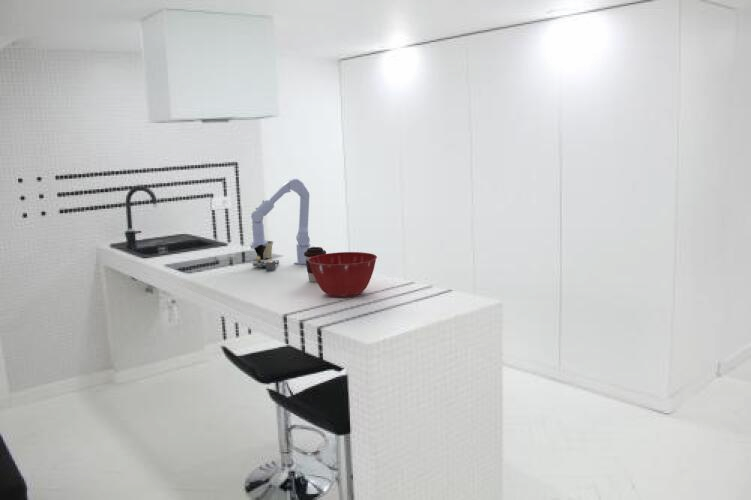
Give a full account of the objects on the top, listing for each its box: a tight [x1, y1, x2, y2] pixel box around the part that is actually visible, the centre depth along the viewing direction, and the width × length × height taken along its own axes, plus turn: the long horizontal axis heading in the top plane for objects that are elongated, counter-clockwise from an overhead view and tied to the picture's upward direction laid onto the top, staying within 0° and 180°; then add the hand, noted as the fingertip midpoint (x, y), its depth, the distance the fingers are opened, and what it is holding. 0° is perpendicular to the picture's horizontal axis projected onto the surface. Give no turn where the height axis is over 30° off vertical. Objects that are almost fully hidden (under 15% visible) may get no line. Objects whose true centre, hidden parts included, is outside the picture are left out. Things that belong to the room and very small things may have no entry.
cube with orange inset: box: [265, 261, 277, 272], centre depth 333 cm, size 4×4×4 cm
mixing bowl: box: [308, 251, 378, 298], centre depth 277 cm, size 28×28×15 cm
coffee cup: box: [304, 246, 327, 283], centre depth 304 cm, size 10×10×15 cm
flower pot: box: [263, 240, 274, 260], centre depth 366 cm, size 9×9×9 cm
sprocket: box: [252, 255, 280, 268], centre depth 342 cm, size 14×14×4 cm
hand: (260, 259), depth 344 cm, fingers closed, pressing on sprocket
